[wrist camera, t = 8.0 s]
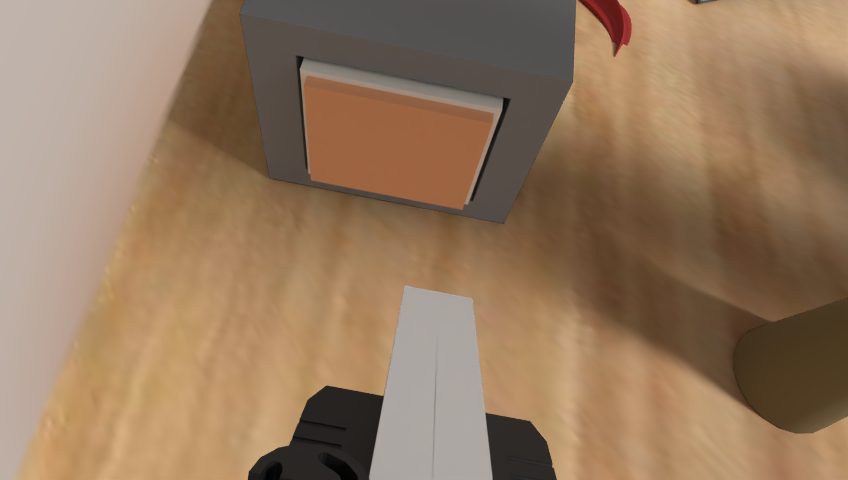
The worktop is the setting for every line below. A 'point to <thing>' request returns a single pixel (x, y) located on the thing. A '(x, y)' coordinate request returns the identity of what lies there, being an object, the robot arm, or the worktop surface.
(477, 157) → the orange drawer
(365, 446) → the robot arm
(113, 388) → the worktop surface
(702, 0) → the mobile phone
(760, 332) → the cork
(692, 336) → the worktop surface
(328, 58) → the gray box
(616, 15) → the cayenne pepper
